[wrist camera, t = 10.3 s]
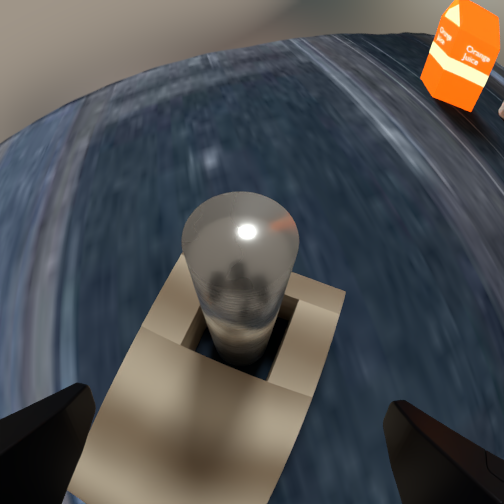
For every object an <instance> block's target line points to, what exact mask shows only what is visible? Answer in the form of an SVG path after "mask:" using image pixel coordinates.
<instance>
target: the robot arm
mask: <svg viewBox="0 0 504 504" xmlns="http://www.w3.org/2000/svg"><path fill="white" fill-rule="evenodd" d="M95 409H96V407H95V402H94V399H93V396H92V392H91V389H90V387H89V386H88V385H86V384H82V383H75V384H73V385H71V386H69V387H67V388H65V389H63V390H61V391H59V392H57V393H55V394H53V395H50V396H48V397H46V398H44V399H42V400H40V401H38V402H36V403H34V404H32V405H30V406H28V407H26V408H24V409H22V410H19V411H17V412H15V413H13V414H11V415H9V416H7V417H5V418H2V419H0V504H62V501H63V499H64V496H65V494H66V491H67V489H68V486H69V484H70V481H71V479H72V476H73V474H74V471H75V469H76V466H77V464H78V462H79V459H80V457H81V455H82V452H83V449H84V446H85V443H86V440H87V436H88V433H89V430H90V427H91V423H92V420H93V417H94V414H95ZM383 429H384V433H385V438H386V443H387V448H388V453H389V459H390V463H391V468H392V471H393V474H394V477H395V481H396V484H397V487H398V490H399V494H400V497H401V500H402V504H504V460H503V459H501V458H499V457H497V456H495V455H493V454H492V453H490V452H488V451H485V449H483V448H481V447H480V446H478V445H476V444H475V443H473V442H471V441H470V440H468V439H466V438H465V437H463V436H461V435H460V434H458V433H457V432H455V431H453V430H452V429H450V428H448V427H447V426H445V425H444V424H442V423H440V422H439V421H437V420H435V419H434V418H432V417H431V416H429V415H428V414H426V413H424V412H423V411H421V410H420V409H418V408H416V407H415V406H413V405H412V404H410V403H409V402H407V401H405V400H398V401H393V402H391V404H390V406H389V408H388V411H387V413H386V415H385V418H384V421H383Z"/></svg>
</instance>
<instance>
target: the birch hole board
mask: <svg viewBox="0 0 504 504" xmlns="http://www.w3.org/2000/svg"><path fill="white" fill-rule="evenodd" d="M345 293H346V292H345V291H342V290H340V289H337V288H334V287H331V286H329V285H326V284H323V283H320V282H318V281H315V280H312V279H309V278H307V277H304V276H301V275H299V274H296V273H293V272H291V275H290V278H289V281H288V284H287V287H286V290H285V293H284V297H283V300H282V303H281V306H280V309H279V312H278V315H277V317H280V318H282V319H285V320H288V321H289V322H288V325H287V327H286V330H285V333H284V335H283V338H282V341H281V343H280V346H279V348H278V351H277V353H276V356H275V358H274V361H273V363H272V366H271V368H270V371H269V373H268V376H267V378H266V381H264V380H262V379H259V378H256V377H254V376H251V375H249V374H246V373H244V372H241V371H239V370H236V369H234V368H231V367H229V366H226V365H224V364H222V363H219V362H217V361H215V360H212V359H210V358H208V357H205V356H203V355H201V354H199V353H196V352H195V350H196V348H197V346H198V344H199V342H200V339H201V337H202V335H203V333H204V331H205V329H206V327H207V323H206V320H205V317H204V314H203V311H202V308H201V305H200V303H199V300H198V297H197V294H196V291H195V288H194V285H193V282H192V278H191V275H190V272H189V269H188V266H187V263H186V260H185V257H184V253H182V254H181V256H180V258H179V259H178V261H177V263H176V265H175V266H174V268H173V270H172V272H171V273H170V275H169V277H168V279H167V280H166V282H165V284H164V286H163V288H162V289H161V291H160V293H159V295H158V296H157V298H156V300H155V302H154V304H153V306H152V307H151V309H150V311H149V313H148V315H147V317H146V318H145V320H144V322H143V324H142V326H141V328H140V330H139V332H138V334H137V335H136V337H135V339H134V341H133V343H132V345H131V347H130V349H129V351H128V353H127V355H126V357H125V359H124V361H123V363H122V365H121V367H120V369H119V371H118V373H117V375H116V377H115V379H114V381H113V383H112V385H111V387H110V389H109V391H108V393H107V395H106V397H105V399H104V401H103V404H102V406H101V408H100V410H99V412H98V414H97V416H96V419H95V421H94V423H93V425H92V427H91V430H90V432H89V434H88V436H87V440H86V443H85V446H84V449H83V452H82V455H81V457H80V459H79V462H78V464H77V466H76V469H75V471H74V474H73V476H72V479H71V481H70V484H69V486H68V489H67V490H68V491H69V492H71V493H72V494H74V495H75V496H76V497H78V498H79V499H81V500H82V501H83V502H85V503H86V504H267V502H268V500H269V498H270V496H271V494H272V492H273V490H274V488H275V486H276V483H277V481H278V479H279V477H280V475H281V473H282V470H283V468H284V466H285V464H286V461H287V459H288V457H289V455H290V452H291V450H292V448H293V445H294V443H295V440H296V438H297V436H298V433H299V431H300V428H301V426H302V423H303V421H304V418H305V415H306V413H307V410H308V408H309V405H310V402H311V400H312V397H313V394H314V391H315V389H316V386H317V383H318V380H319V377H320V374H321V372H322V369H323V366H324V363H325V360H326V357H327V354H328V351H329V347H330V344H331V341H332V338H333V335H334V331H335V328H336V325H337V322H338V318H339V315H340V311H341V308H342V304H343V301H344V297H345Z"/></svg>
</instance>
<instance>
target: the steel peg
mask: <svg viewBox="0 0 504 504" xmlns="http://www.w3.org/2000/svg"><path fill="white" fill-rule="evenodd" d="M298 247H299V235H298V230H297V227H296V224H295V222H294V220H293V218H292V217H291V216H290V214H289V213H288V212H287V211H286V210H285V209H284V208H283V207H282V206H281V205H280V204H278V203H277V202H275V201H274V200H272V199H270V198H268V197H265V196H263V195H260V194H256V193H251V192H230V193H225V194H221V195H218V196H215V197H213V198H211V199H209V200H207V201H205V202H204V203H202V204H201V205H200V206H199V207H197V208H196V209H195V210H194V212H193V213H192V214H191V215H190V217H189V218H188V220H187V222H186V224H185V226H184V229H183V234H182V249H183V253H184V257H185V260H186V263H187V266H188V269H189V272H190V275H191V278H192V282H193V285H194V288H195V291H196V294H197V297H198V300H199V303H200V305H201V308H202V311H203V314H204V317H205V320H206V323H207V326H208V328H209V331H210V334H211V337H212V340H213V342H214V345H215V348H216V350H217V352H218V354H219V356H220V357H221V358H222V359H223V360H224V361H226V362H227V363H229V364H232V365H235V366H247V365H250V364H253V363H255V362H256V361H258V360H259V359H260V358H261V357H262V356H263V354H264V352H265V350H266V347H267V344H268V342H269V339H270V336H271V333H272V330H273V327H274V324H275V321H276V318H277V315H278V312H279V309H280V306H281V303H282V300H283V297H284V293H285V290H286V287H287V284H288V281H289V278H290V275H291V271H292V268H293V265H294V262H295V259H296V255H297V252H298Z"/></svg>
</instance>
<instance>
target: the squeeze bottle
mask: <svg viewBox="0 0 504 504" xmlns="http://www.w3.org/2000/svg"><path fill="white" fill-rule="evenodd" d="M499 115H500V117H501V118H502V119H504V102H503V104H502V106H501V107H500V109H499Z"/></svg>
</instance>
